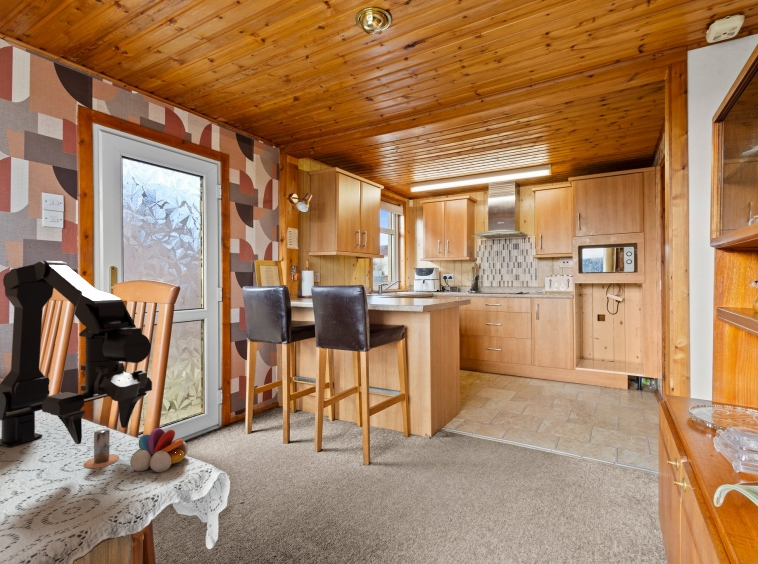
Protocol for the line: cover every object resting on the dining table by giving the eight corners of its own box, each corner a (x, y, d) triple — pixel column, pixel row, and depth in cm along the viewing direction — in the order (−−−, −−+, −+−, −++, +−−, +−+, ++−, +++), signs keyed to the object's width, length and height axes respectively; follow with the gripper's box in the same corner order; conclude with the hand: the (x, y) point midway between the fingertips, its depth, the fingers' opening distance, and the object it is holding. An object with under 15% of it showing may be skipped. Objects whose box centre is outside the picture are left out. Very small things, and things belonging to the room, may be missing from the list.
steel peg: (90, 463, 80) (90, 433, 80) (100, 457, 83) (100, 429, 83) (103, 463, 80) (103, 434, 80) (112, 458, 82) (112, 429, 82)
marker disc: (76, 465, 79) (76, 464, 79) (106, 453, 85) (106, 452, 85) (96, 470, 77) (96, 469, 77) (125, 457, 83) (125, 457, 83)
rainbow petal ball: (169, 476, 75) (169, 438, 75) (121, 473, 76) (122, 436, 76) (194, 456, 84) (194, 422, 84) (151, 454, 85) (151, 420, 85)
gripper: (79, 372, 69) (79, 461, 69) (170, 354, 87) (170, 425, 87) (40, 366, 74) (40, 451, 74) (134, 350, 91) (134, 418, 91)
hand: (102, 435), depth 81 cm, fingers open, 9 cm apart
